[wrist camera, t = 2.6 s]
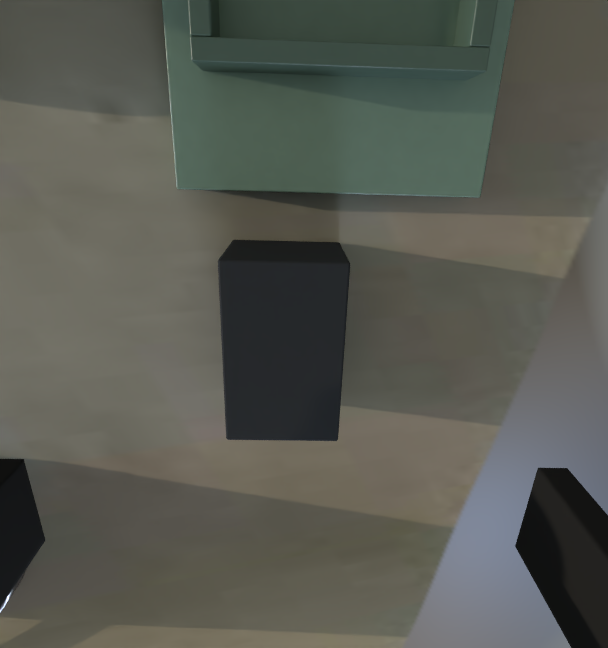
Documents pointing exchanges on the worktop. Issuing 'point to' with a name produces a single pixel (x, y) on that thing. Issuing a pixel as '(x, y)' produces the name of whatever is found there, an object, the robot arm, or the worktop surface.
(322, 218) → the worktop surface
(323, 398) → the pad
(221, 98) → the base pad
